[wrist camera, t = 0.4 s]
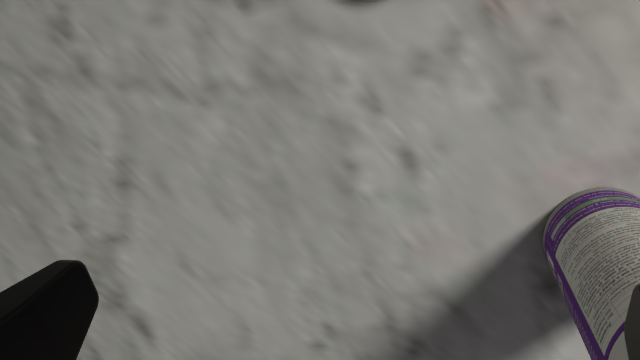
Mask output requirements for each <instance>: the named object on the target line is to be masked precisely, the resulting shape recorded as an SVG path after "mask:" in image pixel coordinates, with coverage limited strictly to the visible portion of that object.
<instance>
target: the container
mask: <svg viewBox="0 0 640 360" xmlns="http://www.w3.org/2000/svg"><path fill="white" fill-rule="evenodd" d="M543 248H544V252H545V255H546V258H547V261H548V263H549V265H550V267H551V270H552V272H553V274H554V276H555V279H556V281H557V283H558V285H559V288H560V290H561V292H562V294H563V297H564V299H565V301H566V303H567V306H568V308H569V310H570V312H571V315H572V317H573V319H574V321H575V324H576V326H577V328H578V330H579V333H580V335H581V337H582V339H583V342H584V344H585V346H586V348H587V351H588V353H589V355H590V357H591V360H629V358H628V353H627V348H626V343H625V337H624V324H625V319H626V315H627V311H628V307H629V303H630V299H631V295H632V291H633V289H634V287H635V286H636V285H637V284H640V198H638V197H637V196H635V195H633V194H631V193H629V192H626V191H623V190H620V189H615V188H593V189H588V190H584V191H581V192H579V193H576V194H574V195H572V196H570V197H569V198H567V199H566V200H564V201H563V202H562V203H561V204H559V205H558V206H557V207H556V209H555V210H554V211H553V212H552V214H551V215H550V217H549V218H548V220H547V223H546V225H545V228H544V233H543Z"/></svg>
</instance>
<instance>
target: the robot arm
mask: <svg viewBox="0 0 640 360" xmlns="http://www.w3.org/2000/svg"><path fill="white" fill-rule="evenodd" d="M98 302H99V296H98V292H97V290H96V288H95V285H94V283H93V281H92V279H91V277H90V275H89V272H88V270H87V268H86V266H85V265H84V264H83V263H82V262H81V261H78V260H59V261H56V262H54V263H52V264H50V265H49V266H47V267H45V268H43V269H41V270H40V271H38V272H36V273H34V274H32V275H31V276H29V277H27V278H25V279H24V280H22V281H20V282H18V283H16V284H15V285H13V286H11V287H9V288H7V289H6V290H4V291H2V292H0V360H76V359H77V356H78V354H79V351H80V349H81V346H82V344H83V341H84V339H85V336H86V334H87V332H88V329H89V327H90V324H91V322H92V319H93V317H94V314H95V312H96V309H97V307H98ZM624 337H625V343H626V348H627V353H628V358H629V360H640V284H637V285H636V286H635V287H634V289H633V291H632V295H631V299H630V303H629V307H628V311H627V315H626V319H625V324H624Z"/></svg>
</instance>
